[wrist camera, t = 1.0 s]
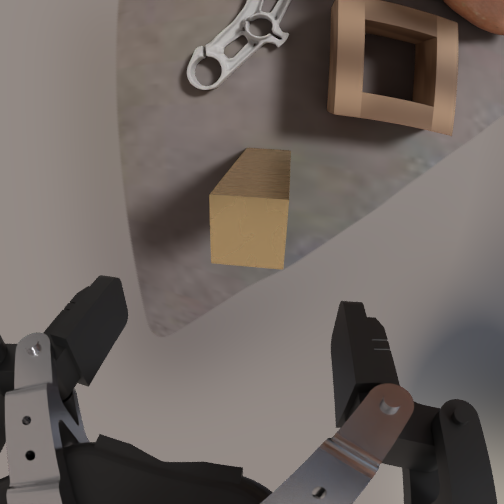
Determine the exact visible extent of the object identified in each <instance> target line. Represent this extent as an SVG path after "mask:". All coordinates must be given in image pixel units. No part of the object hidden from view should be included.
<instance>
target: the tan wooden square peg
mask: <svg viewBox="0 0 504 504" xmlns="http://www.w3.org/2000/svg"><path fill="white" fill-rule="evenodd" d="M290 158H291V151H289V150H274V149H257V148H247V149H246V150H245V151H244V152H243V153H242V155H241V156H240V157H239V158H238V159H237V161H236V162H235V163H234V164H233V166H232V167H231V168H230V169H229V171H228V172H227V173H226V174H225V176H224V177H223V178H222V179H221V181H220V182H219V183H218V184H217V186H216V187H215V188H214V189H213V191H212V192H211V193H210V195H209V203H210V239H211V263H216V264H227V265H238V266H249V267H261V268H272V269H283V265H284V254H285V243H286V231H287V218H288V206H289V186H290Z"/></svg>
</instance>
